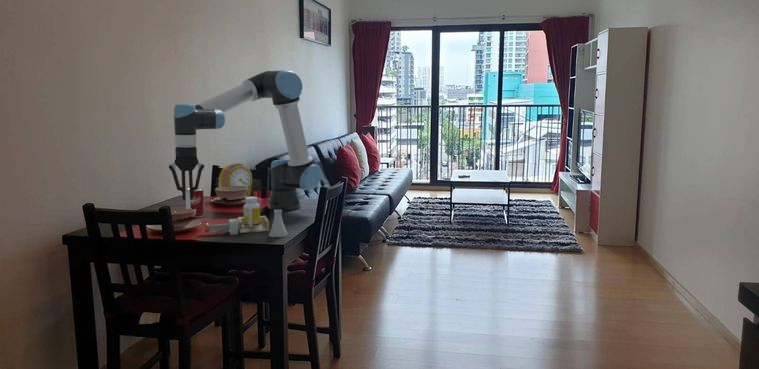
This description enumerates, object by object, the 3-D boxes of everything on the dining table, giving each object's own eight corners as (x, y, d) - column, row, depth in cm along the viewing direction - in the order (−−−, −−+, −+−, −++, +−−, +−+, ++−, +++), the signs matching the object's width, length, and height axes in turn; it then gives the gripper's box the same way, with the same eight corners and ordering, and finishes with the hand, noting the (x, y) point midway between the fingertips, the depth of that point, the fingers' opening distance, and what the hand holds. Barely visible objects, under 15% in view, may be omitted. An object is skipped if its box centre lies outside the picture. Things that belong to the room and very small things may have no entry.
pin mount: (237, 230, 221) (236, 218, 221) (238, 234, 216) (237, 222, 215) (229, 231, 220) (228, 219, 220) (230, 234, 215) (229, 222, 214)
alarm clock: (228, 201, 280) (227, 165, 277) (219, 199, 285) (218, 163, 282) (253, 197, 290) (252, 162, 288) (244, 195, 296) (243, 161, 293)
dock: (265, 223, 233) (265, 215, 233) (269, 230, 221) (269, 222, 221) (237, 225, 230) (237, 217, 229) (239, 232, 218) (239, 224, 217)
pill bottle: (263, 224, 228) (262, 196, 226) (255, 228, 222) (254, 199, 220) (249, 223, 230) (248, 195, 228) (240, 227, 224) (239, 198, 222)
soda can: (199, 218, 242) (198, 191, 240) (184, 217, 243) (182, 190, 241) (207, 215, 249) (206, 188, 247) (192, 214, 250) (191, 187, 248)
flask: (269, 233, 217) (269, 208, 216) (288, 233, 218) (288, 208, 216) (267, 238, 210) (267, 212, 208) (287, 238, 211) (286, 212, 209)
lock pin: (239, 229, 220) (239, 220, 220) (240, 231, 217) (240, 222, 216) (204, 231, 216) (204, 222, 216) (204, 233, 213) (204, 224, 212)
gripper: (204, 145, 213) (206, 205, 217) (167, 145, 209) (170, 207, 213) (204, 146, 206) (206, 209, 210) (166, 147, 202) (169, 211, 206)
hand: (188, 208), depth 211 cm, fingers closed
